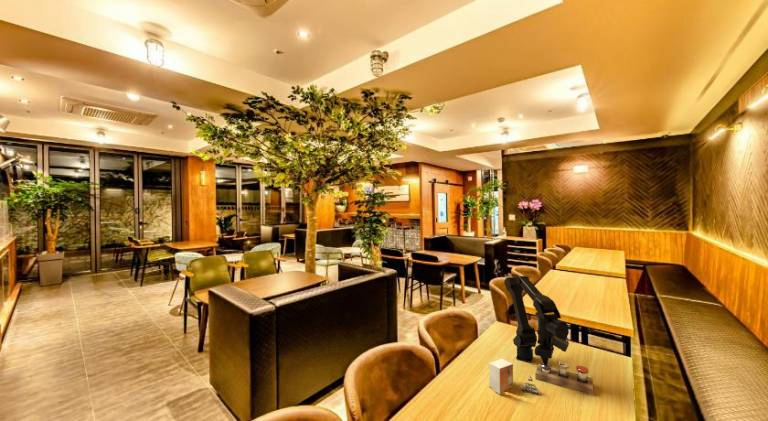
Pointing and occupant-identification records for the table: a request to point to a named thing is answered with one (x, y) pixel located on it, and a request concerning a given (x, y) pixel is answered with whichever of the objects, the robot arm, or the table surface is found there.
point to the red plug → (582, 373)
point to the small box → (500, 375)
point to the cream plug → (563, 369)
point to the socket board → (565, 380)
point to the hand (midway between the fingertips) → (545, 364)
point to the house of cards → (530, 387)
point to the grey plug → (546, 368)
